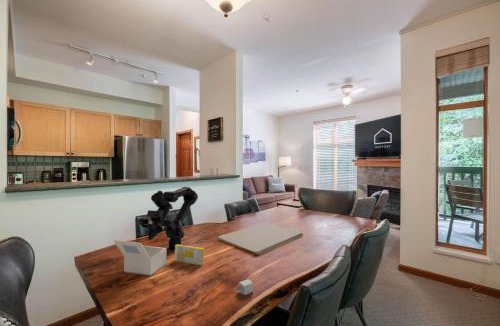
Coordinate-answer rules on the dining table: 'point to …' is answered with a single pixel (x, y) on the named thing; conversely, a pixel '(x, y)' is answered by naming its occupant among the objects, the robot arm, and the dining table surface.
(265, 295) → the dining table surface
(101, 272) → the dining table surface
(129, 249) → the carton flap
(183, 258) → the candy box
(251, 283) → the usb wall charger
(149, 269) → the carton
